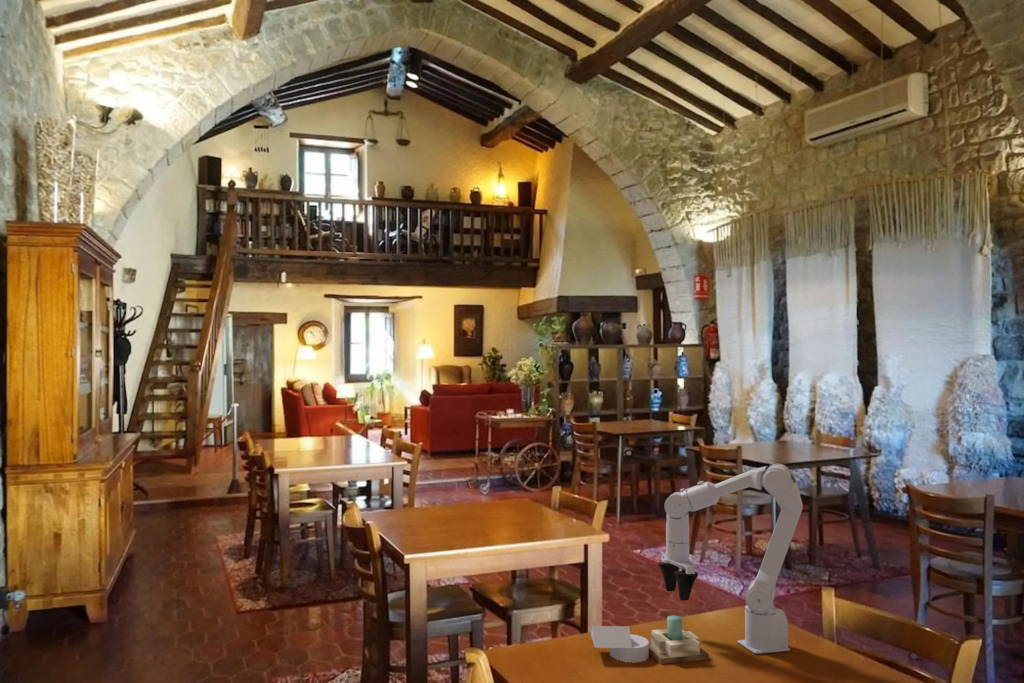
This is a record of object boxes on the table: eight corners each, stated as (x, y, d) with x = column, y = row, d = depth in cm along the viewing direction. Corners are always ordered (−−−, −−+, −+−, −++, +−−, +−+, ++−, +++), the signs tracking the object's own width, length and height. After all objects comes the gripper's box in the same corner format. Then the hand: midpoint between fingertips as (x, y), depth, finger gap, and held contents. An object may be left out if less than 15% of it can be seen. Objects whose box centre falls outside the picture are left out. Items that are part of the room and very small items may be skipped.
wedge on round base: (594, 662, 174) (651, 663, 174) (594, 632, 174) (651, 633, 174) (590, 647, 183) (644, 648, 183) (590, 619, 183) (644, 619, 183)
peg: (678, 644, 182) (677, 614, 182) (685, 649, 179) (685, 619, 179) (665, 646, 181) (664, 616, 181) (672, 651, 178) (671, 621, 178)
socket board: (688, 643, 186) (688, 627, 186) (708, 659, 176) (708, 641, 176) (642, 647, 183) (642, 630, 183) (660, 663, 173) (660, 646, 174)
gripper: (650, 535, 198) (650, 587, 198) (676, 548, 184) (675, 605, 184) (675, 534, 200) (675, 586, 200) (702, 547, 186) (702, 603, 186)
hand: (677, 595), depth 192 cm, fingers open, 7 cm apart
